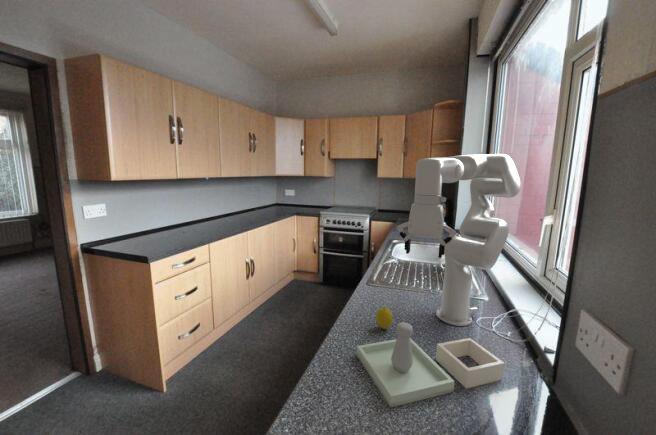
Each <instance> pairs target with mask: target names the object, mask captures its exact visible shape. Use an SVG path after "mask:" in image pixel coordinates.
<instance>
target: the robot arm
mask: <svg viewBox="0 0 656 435" xmlns="http://www.w3.org/2000/svg"><path fill="white" fill-rule="evenodd" d="M415 166H416V167H415V181H414V182H415V183H414V200H413V201H414V202H413V203H411V206H410V210H409V217H408V221H406V222H403V223H402V224H398V225H397V226H396V229H397V231H398V233H399V236H400V237H401V238H402V239H403V241H404V251H405V254H407V255H408V254H410V252H411V247H412V246H411V242H412V240H411V238H412V237H415V238H423V239H437V241H438V242H439V245H438V246H439V247H438V256H437V258H438V259H442V256H444V272H443V273H444V276H443V282H442V285H443V286H442V294H441V295H442V296H441V304H440V306H441V307H440V308H437V309H436V312H435V316H436V317H437V319H439V320H441V321H442V322H444V323H445V324H449V325H451V326H458V327H467V326H469V325H471V324H472V322H473V318H472V316H471V314H473V313H477V312H479V309H478V307H477V306H473V307H472V306H471V307H470V298H471V292H472V291H471V290H472V282H473V273H472V270H471V267H472V268H477V269H481V270H491V269H492V268H493V267H494V266H495V265H496V263H497V261H498V259H499V257H500V255H501V253H502V250H503V249H504V246H505V244H506V242H507V239H508V236H509V233H510V232H509V231H510V229H509V225H508V222H507V221H505V220H504V219H502V218H496V217H493V216H494V215H495V207H494V205H493V204H492V202H491V201H490V199H488V197H492V198H493V197H496V198H506V199H510V198H514V197H516V196H518V194H519V192H520V190H521V180H520V176H519V173H518V171H517V167H516V165H515V163H514V160H513V158H511V156H509V155H508V154H506V153H494V154H493V153H489V154H487V153H485V154H484V153H483V154H466V155H465V154H463V155H455V156H454V155H453V156H445V157H443V156H442V157H429V158H426V157H425V158H421V159H418V160H417V162H416V165H415ZM469 180H471V181H470V184H469V193H470V202H471V204H470V207H469V210H468V211H467V213H466V215H465V217H464V218H463V220H462V222H461V224H460V226H459V234H460V236H458V235H457V236H456V234H457V231H456V230H454V229H453V228H451V227H450V226H448V225H446V224H445V211H444V205H443V204H442V203H446V202H447V197H445V196H443V195H442V190H443V188H442V186H443V184H444V183H445V184H453V183H457V182H458V181H469ZM404 228H407V233H406V232H405V231H404ZM444 231H445V232H447V233H449V235H448V236H446V237H444V236H443V235H444Z"/></svg>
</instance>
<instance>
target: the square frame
mask: <svg viewBox="0 0 656 435" xmlns="http://www.w3.org/2000/svg"><path fill="white" fill-rule="evenodd" d="M466 356H467V357H468V356H469V357H470V358H471V359H472V360H473V361H474V362H476V363H477V364H478V365H476V366H471V367H468V366H467V365H466V364H465V363H463V362H462V361H461V360H460V359H459V358H461V357H466ZM435 360H436V362H438V363H439V364H440V365H441V366H442V367H443V368H444V369H445V370H446V371H447V372H448V373H449V374H450V375H452V377H454V379H455V380H456V381H457V382H459V383H460V384H461V385H462V386H463V387H464V388H465V389H471V388H474V387H479V386H481V385H486V384H487V385H488V384H491V383H494V382H498V381H501V380H503V375H504V368H505V362H504V361H503V360H501V359H500V358H498V357H497V356H496V355H494V354H493V353H492V352H490V351H489V350H487V349H486V348H484V347H483V346H482V345H480V344H479V343H478V342H476V341H475V340H473V339H472V338H471V337H466V338H462V339H456V340H451V341H445V342H441V343H440V342H439V343H437V344H436V353H435Z"/></svg>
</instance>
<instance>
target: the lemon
mask: <svg viewBox="0 0 656 435" xmlns="http://www.w3.org/2000/svg"><path fill="white" fill-rule="evenodd" d="M375 319H376V324H377V325H378V327H380V328H382V329H383V330H385V329H388V328H389V327H391V325H392V323H393V313H392V312H391V310H390V309H389V308H387V307H381V308H379V309H378V310H377V313H376V317H375Z"/></svg>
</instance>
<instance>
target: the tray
mask: <svg viewBox="0 0 656 435" xmlns="http://www.w3.org/2000/svg"><path fill="white" fill-rule="evenodd" d="M396 340H397V338H396V339H390V340H384V341H378V342H372V343H368V344H362V345H361V344H360V345H357V346H356V357H357V359H359V361H360V363H361V364H362V366H363V367H364V369H365V370H366V372H367V373H368V376H370V378H371V379H372V381H373V383H374V385H376V387H377V389H378V391H379V393H381V395H382V397H383V399H384V400H385V402H386V403H387V404H388V406H389V408H394V407H399V406H403V405H406V404H411V403H415V402H419V401H422V400H426V399H431V398H434V397H439V396H443V395H446V394H450V393H454V390H455V384H456V383H455V380H454V379H453V378H452V377H451V376H450V375H449V374H448V373H447V372H446V371H445V370H444V369H443V368H442V367H440V366H439V364H437V363H436V361H435V360H433V358H431V357H430V356H429V354H427V353H426V352H425V351H424V350H423V349H422V348H421V347H420V346H419V345H418V344H417V342H415V341H414V339H412V338H411V348H412V358H413V364H412V367H411V368H410V369H409V371H408V372H407V373H399V372H398V371H396V370H395V369H394V367H393V364H392V361H391V357H392V353H393V350H394V347H395V344H396Z"/></svg>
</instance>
